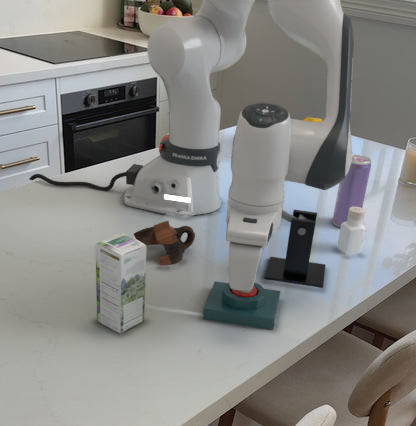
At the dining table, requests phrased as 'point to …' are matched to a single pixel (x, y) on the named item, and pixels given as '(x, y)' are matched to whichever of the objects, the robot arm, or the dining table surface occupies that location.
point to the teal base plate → (242, 306)
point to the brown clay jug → (167, 240)
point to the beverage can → (352, 188)
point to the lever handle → (291, 216)
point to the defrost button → (245, 295)
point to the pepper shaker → (352, 232)
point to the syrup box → (120, 282)
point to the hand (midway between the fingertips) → (246, 289)
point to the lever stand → (298, 255)
